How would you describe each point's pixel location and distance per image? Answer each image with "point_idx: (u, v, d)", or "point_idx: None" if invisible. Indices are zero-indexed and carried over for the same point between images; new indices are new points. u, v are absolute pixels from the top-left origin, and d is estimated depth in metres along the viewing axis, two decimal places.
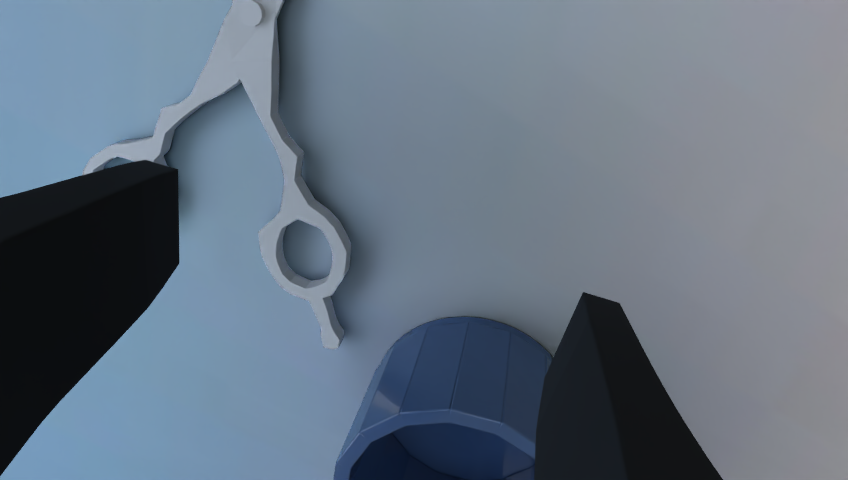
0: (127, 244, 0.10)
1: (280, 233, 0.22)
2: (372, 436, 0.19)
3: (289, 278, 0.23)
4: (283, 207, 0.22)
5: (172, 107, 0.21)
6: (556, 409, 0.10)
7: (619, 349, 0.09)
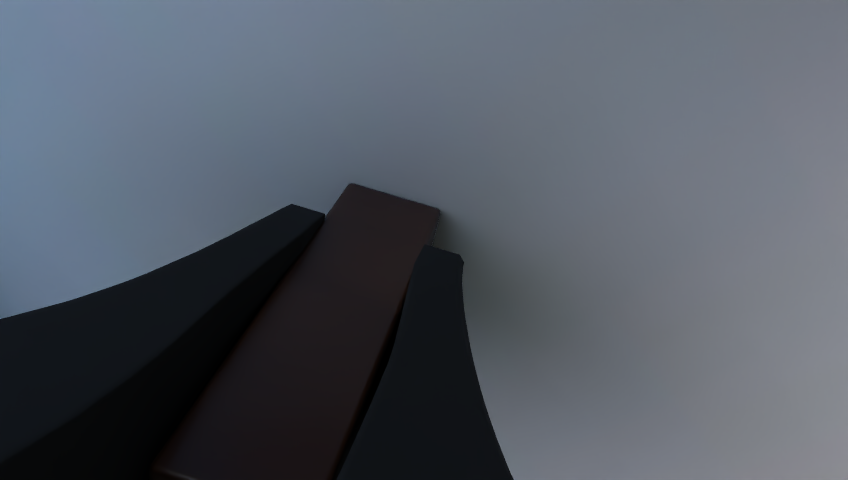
0: None
1: None
2: None
3: None
4: None
5: None
6: None
7: (431, 291, 0.09)
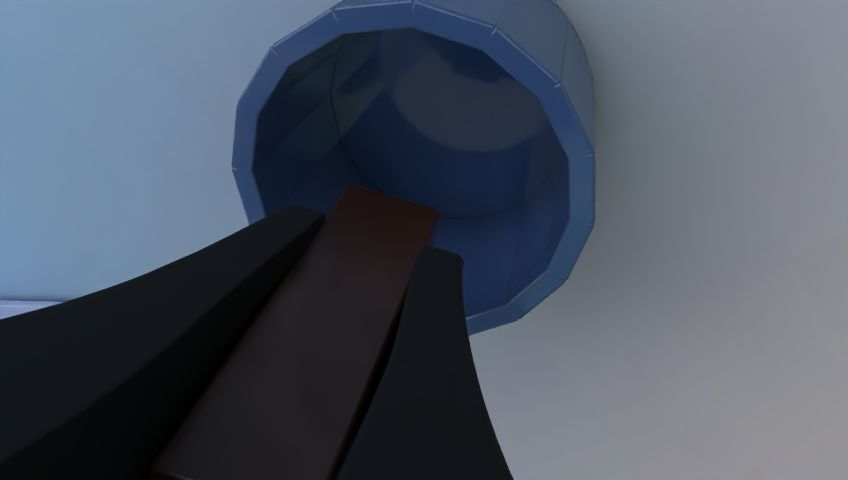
0: None
1: None
2: (349, 24, 0.11)
3: None
4: None
5: None
6: None
7: (431, 291, 0.09)
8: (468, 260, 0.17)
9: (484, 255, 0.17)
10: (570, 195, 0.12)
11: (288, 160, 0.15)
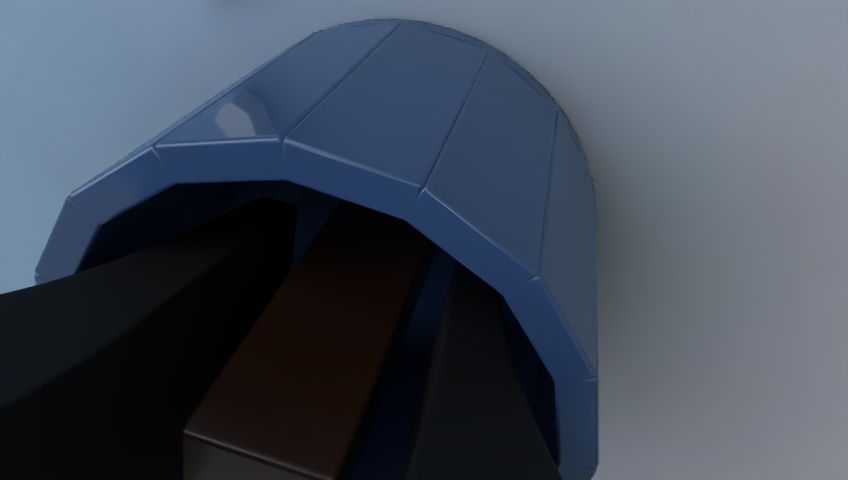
0: (257, 285, 0.10)
1: None
2: (183, 170, 0.07)
3: None
4: None
5: None
6: (426, 368, 0.10)
7: (471, 303, 0.09)
8: None
9: None
10: (558, 430, 0.08)
11: None
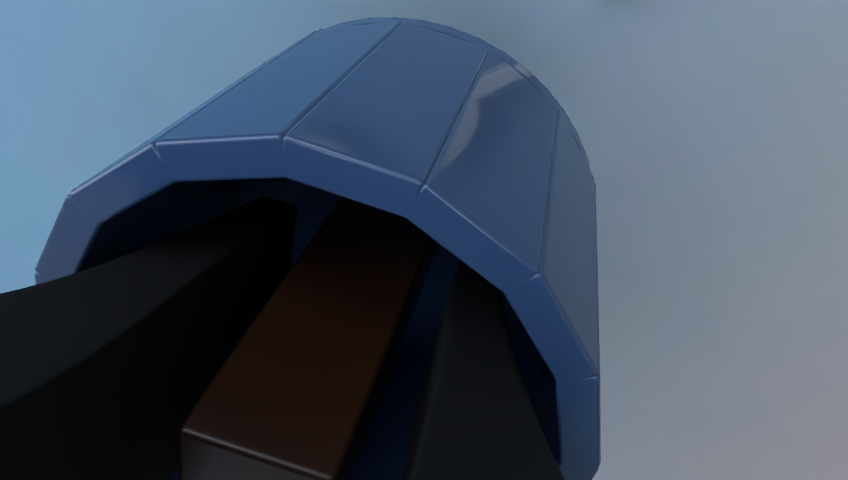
0: (256, 285, 0.10)
1: None
2: (183, 168, 0.07)
3: None
4: None
5: None
6: (428, 369, 0.10)
7: (474, 304, 0.09)
8: None
9: None
10: (560, 428, 0.08)
11: None
